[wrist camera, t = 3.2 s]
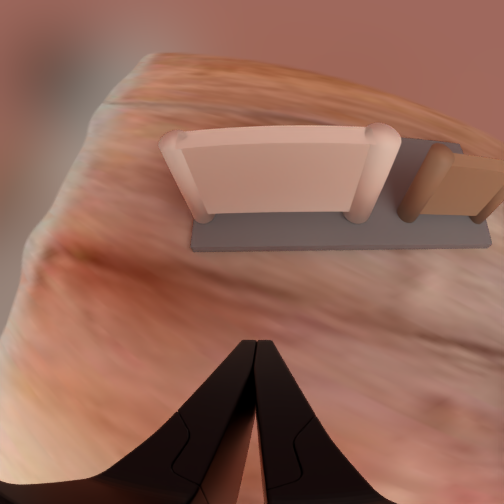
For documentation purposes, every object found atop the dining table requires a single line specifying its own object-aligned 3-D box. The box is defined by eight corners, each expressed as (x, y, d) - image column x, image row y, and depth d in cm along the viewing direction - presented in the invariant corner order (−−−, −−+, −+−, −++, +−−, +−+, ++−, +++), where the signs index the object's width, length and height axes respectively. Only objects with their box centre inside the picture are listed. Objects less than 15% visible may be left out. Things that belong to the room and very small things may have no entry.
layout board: (455, 147, 25) (487, 88, 18) (487, 248, 21) (542, 199, 14) (206, 142, 27) (185, 72, 20) (193, 251, 23) (156, 192, 16)
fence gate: (367, 199, 22) (396, 124, 15) (371, 223, 21) (405, 152, 14) (194, 202, 23) (161, 128, 16) (192, 226, 23) (154, 157, 15)
